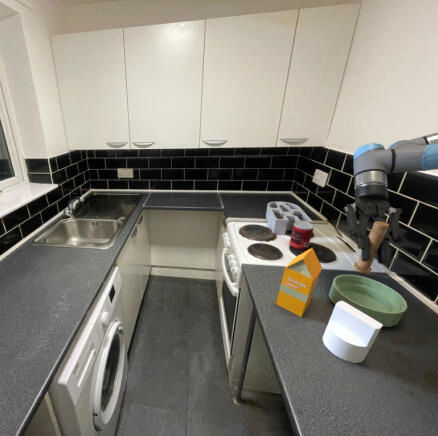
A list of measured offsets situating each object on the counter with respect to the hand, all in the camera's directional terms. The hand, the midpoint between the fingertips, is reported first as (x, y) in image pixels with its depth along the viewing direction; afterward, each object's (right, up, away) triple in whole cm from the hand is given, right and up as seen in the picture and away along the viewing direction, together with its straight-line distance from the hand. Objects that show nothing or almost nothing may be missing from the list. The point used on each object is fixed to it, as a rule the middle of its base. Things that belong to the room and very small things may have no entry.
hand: (374, 261), depth 66 cm
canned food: (+7, -1, +43) cm, 44 cm away
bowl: (+4, -16, +9) cm, 19 cm away
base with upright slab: (-12, -23, -3) cm, 26 cm away
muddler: (+2, -4, +6) cm, 7 cm away
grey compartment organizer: (+12, +9, +64) cm, 66 cm away
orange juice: (-16, -16, +11) cm, 26 cm away
